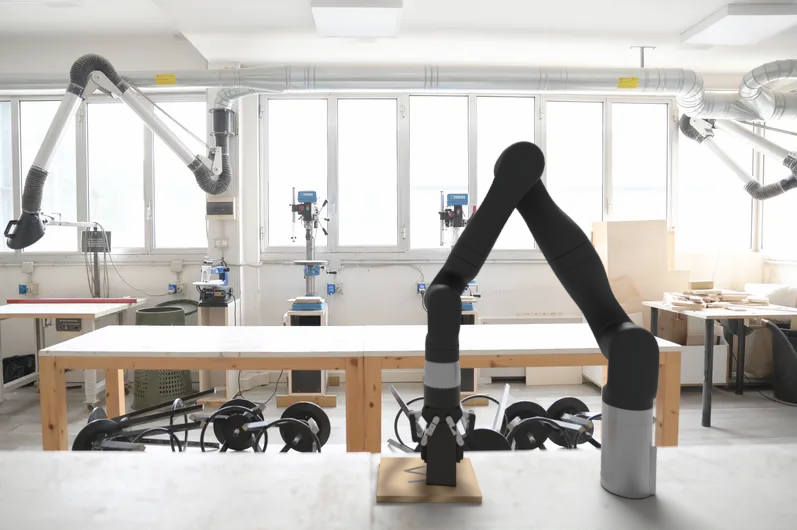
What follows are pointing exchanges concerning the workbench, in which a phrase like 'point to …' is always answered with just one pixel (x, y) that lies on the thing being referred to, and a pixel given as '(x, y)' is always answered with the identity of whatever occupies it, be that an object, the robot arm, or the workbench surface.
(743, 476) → the workbench surface
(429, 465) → the phone stand
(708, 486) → the workbench surface
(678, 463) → the workbench surface
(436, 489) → the oak board
